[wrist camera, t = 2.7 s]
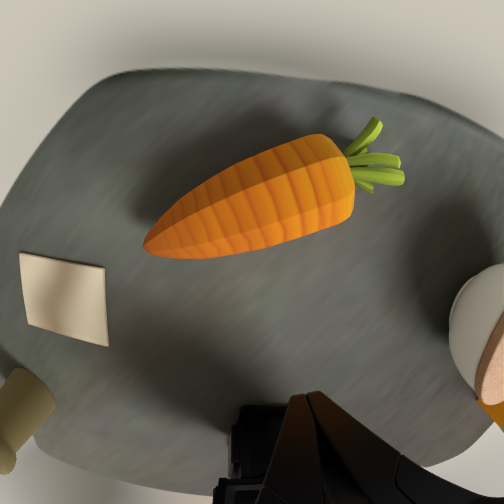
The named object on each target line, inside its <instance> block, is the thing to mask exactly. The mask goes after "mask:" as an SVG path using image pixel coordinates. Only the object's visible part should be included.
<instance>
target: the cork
mask: <svg viewBox="0 0 504 504" xmlns="http://www.w3.org/2000/svg"><path fill="white" fill-rule="evenodd" d="M55 409H56V402H55V400H54V397H53V395H52V394H51V392H50V391H49V389H48V388H47V387H46V386H45V384H44V383H43V382H42V381H41V380H40V379H39V378H38V377H37V376H35V375H34V374H33V373H31V372H30V371H28V370H26V369H23V368H15V369H14V370H13V371H12V372H11V374H10V375H9V377H8V378H7V380H6V381H5V383H4V384H3V386H2V388H1V389H0V474H9V473H10V472H11V471H12V470H13V468H14V467H15V463H16V452H17V451H18V450H19V449H20V448H21V446H22V445H23V444H24V443H25V442H26V441H27V440H28V439H29V438H30V437H31V436H32V435H33V434H34V433H35V432H36V430H37V429H38V428H39V427H40V426H41V425H42V424H43V423H44V422H45V421H46V420H47V419H48V418H49V417H50V416H51V415H52V414H53V413H54V411H55Z"/></svg>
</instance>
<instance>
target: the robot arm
mask: <svg viewBox="0 0 504 504" xmlns="http://www.w3.org/2000/svg"><path fill="white" fill-rule="evenodd" d="M244 411H247V412H244ZM400 455H401V453H400V452H399V451H397V450H396V449H394V448H393V447H392V446H390V445H389V444H388V443H386V442H385V441H384V440H382V439H381V438H380V437H378V436H377V435H376V434H374V433H373V432H372V431H370V430H369V429H368V428H366V427H365V426H364V425H362V424H361V423H360V422H359V421H357V420H356V419H355V418H353V417H352V416H351V415H350V414H348V413H347V412H346V411H345V410H343V409H342V408H341V407H340V406H338V405H337V404H336V403H335V402H333V401H332V400H331V399H330V398H328V397H327V396H326V395H325V394H324V393H322V392H321V391H314V392H309V393H307V394H306V395H305V394H297V395H292V396H291V397H290V400H289V403H288V407H287V408H286V407H261V406H242V407H240V409H239V414H238V419H237V425H233V426H231V431H230V437H229V443H228V477H229V478H230V479H227V478H219V483H218V486H216V488H214V489H213V503H212V504H504V497H500V498H498V497H487V496H483V495H479V494H476V493H474V492H471V491H469V490H467V489H464V488H462V487H460V486H458V485H455V484H453V483H451V482H449V481H447V480H444V479H442V478H440V477H438V476H436V475H435V474H433V473H431V472H429V471H427V470H425V469H424V468H422V467H421V466H419V465H417V464H416V463H414V462H413V461H411V460H410V459H409V458H407V457H406V456H404V455H401V456H400Z"/></svg>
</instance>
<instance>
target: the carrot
mask: <svg viewBox="0 0 504 504" xmlns="http://www.w3.org/2000/svg"><path fill="white" fill-rule="evenodd" d="M382 126H383V125H382V123H381V122H380V121H379V120H378V119H377V118H375V117H372V118H371V120H370V121H369V122H368V124H367V125H366V127H365V128H364V130H363V131H362V132H361V133H360V134H359V135H358V136H357V138H356V139H355V140H354V141H353V142H352V143H351V144H350V145H349V147H348V148H347V149H346V150H345V151H344V152H343V153H342V152H341V151H340V150H339V148H338V147H337V146H336V145H335V143H334V142H333V141H332V140H331V139H330V138H328V137H326V136H325V135H323V134H313V135H308V136H304V137H302V138H299V139H296V140H293V141H290V142H288V143H285V144H282V145H279V146H277V147H274V148H271V149H269V150H266V151H264V152H262V153H259V154H257V155H255V156H252V157H250V158H248V159H245V160H243V161H241V162H239V163H236V164H234V165H232V166H230V167H229V168H227V169H225V170H224V171H222V172H220V173H218V174H217V175H215V176H213V177H212V178H210V179H208V180H207V181H205V182H204V183H202V184H201V185H199V186H198V187H196V188H195V189H193V190H192V191H190V192H189V193H187V194H186V195H184V196H183V197H182V198H180V199H179V200H178V201H177V202H176V203H175V204H174V205H173V206H172V207H171V208H170V209H169V210H168V211H167V212H165V213H164V214H163V215H162V216H161V218H160V219H159V220H158V221H157V223H156V224H155V225H154V226H153V228H152V229H151V230H150V231H149V233H148V234H147V235H146V237H145V240H144V243H143V250H144V251H146V252H148V253H150V254H152V255H154V256H161V257H169V258H178V259H207V258H213V257H219V256H225V255H232V254H238V253H243V252H248V251H253V250H257V249H262V248H267V247H270V246H273V245H276V244H280V243H283V242H286V241H289V240H292V239H296V238H299V237H302V236H305V235H308V234H311V233H313V232H316V231H319V230H322V229H325V228H328V227H331V226H334V225H336V224H339V223H341V222H343V221H344V220H346V219H347V218H348V217H349V216H350V215H351V212H352V210H353V207H354V194H355V185H356V186H357V187H359V188H361V189H363V190H364V191H366V192H368V193H373V185H372V183H371V182H374V183H380V184H386V185H393V186H399V185H402V184H403V183H404V178H405V176H404V173H403V171H400V170H395V169H390V168H382V167H367V166H368V165H382V166H387V167H394V168H400V164H401V162H400V159H399V157H398V156H395V155H390V154H384V153H368V154H366V153H367V148H366V147H367V146H368V145H369V144H370V143H371V142H372V141H374V140H375V138H376V137H377V136H378V134H379V133H380V131H381V129H382Z"/></svg>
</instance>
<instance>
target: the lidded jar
mask: <svg viewBox="0 0 504 504" xmlns="http://www.w3.org/2000/svg"><path fill="white" fill-rule="evenodd" d="M449 345H450V351H451V355H452V358H453V361H454V363H455V365H456V367H457V369H458V371H459V372H460V374H461V375H462V377H463V378H464V380H465V381H466V382H467V383H468V385H469V386H470V387H471V388H472V389H473V390H474V391H475V392H476V395H477V397H478V398H479V399H480V400H481V401H482V402H483V403H484V404H486V405H495V404H498V403H500V402H502V401H504V263H501V264H496V265H493V266H491V267H488V268H486V269H485V270H483V271H482V272H480V273H479V274H478V275H475V276H473V277H472V278H470V279H469V280H468V281H467V282H466V283H465V284H464V285H463V286H462V287H461V289H460V290H459V292H458V294H457V295H456V297H455V299H454V301H453V304H452V307H451V310H450V315H449Z"/></svg>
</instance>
